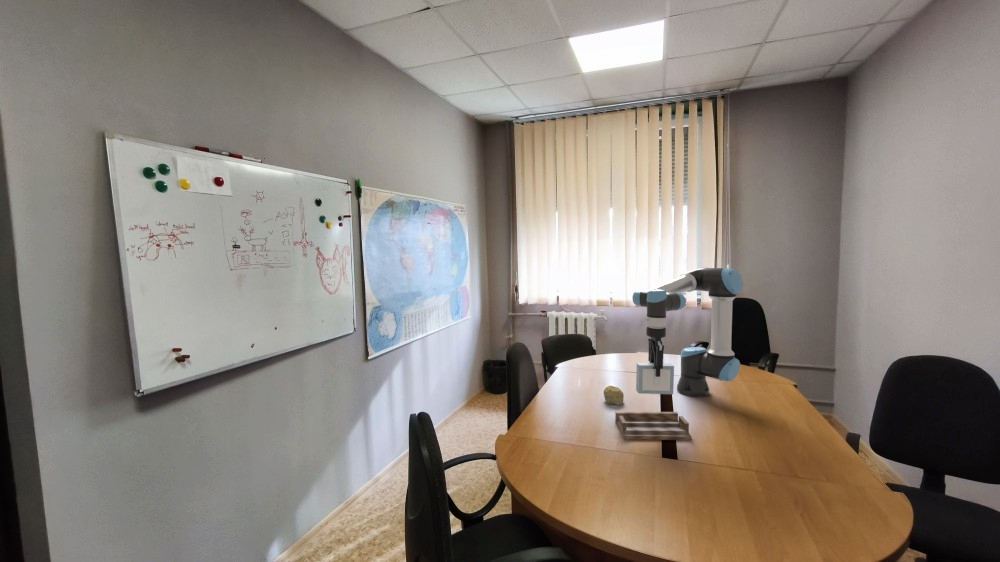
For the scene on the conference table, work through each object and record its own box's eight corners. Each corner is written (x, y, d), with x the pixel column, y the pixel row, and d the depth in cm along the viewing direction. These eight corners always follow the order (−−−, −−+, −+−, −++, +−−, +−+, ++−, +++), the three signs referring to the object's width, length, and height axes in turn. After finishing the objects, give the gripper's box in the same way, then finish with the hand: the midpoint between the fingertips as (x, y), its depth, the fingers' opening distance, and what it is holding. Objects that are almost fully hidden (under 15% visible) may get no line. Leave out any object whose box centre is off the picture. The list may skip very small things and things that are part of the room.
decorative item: (623, 408, 193) (620, 388, 198) (626, 403, 184) (623, 382, 190) (603, 408, 193) (601, 388, 199) (606, 403, 185) (604, 382, 190)
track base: (676, 421, 168) (676, 409, 168) (691, 440, 152) (691, 426, 152) (615, 421, 170) (615, 409, 170) (624, 439, 155) (624, 426, 154)
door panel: (669, 390, 165) (670, 363, 164) (673, 394, 161) (674, 366, 160) (636, 389, 166) (636, 362, 165) (638, 393, 162) (639, 365, 161)
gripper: (641, 322, 170) (640, 374, 172) (653, 331, 153) (652, 388, 155) (658, 323, 169) (657, 375, 171) (672, 331, 152) (671, 389, 154)
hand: (655, 381), depth 163 cm, fingers closed on door panel, 4 cm apart
